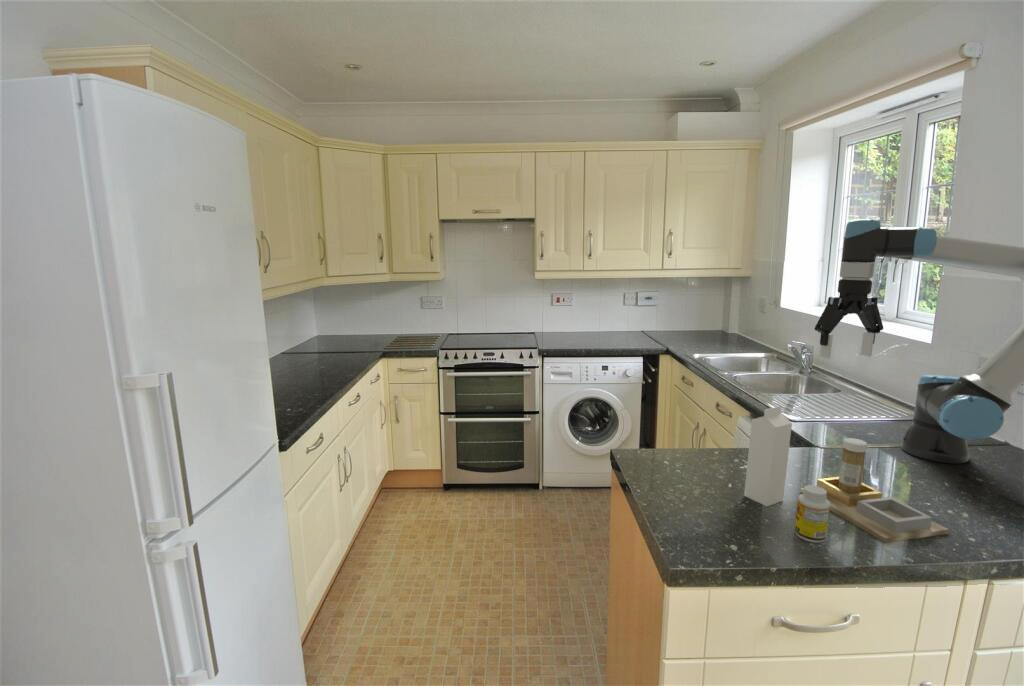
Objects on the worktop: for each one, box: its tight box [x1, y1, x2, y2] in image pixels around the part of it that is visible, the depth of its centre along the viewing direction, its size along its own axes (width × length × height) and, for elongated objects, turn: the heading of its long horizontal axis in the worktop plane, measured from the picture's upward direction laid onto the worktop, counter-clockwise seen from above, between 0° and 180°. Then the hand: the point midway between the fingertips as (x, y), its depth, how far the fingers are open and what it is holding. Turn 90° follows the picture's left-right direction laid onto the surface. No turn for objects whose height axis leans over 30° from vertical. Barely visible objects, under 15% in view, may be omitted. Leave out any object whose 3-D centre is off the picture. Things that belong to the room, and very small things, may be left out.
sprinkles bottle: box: [838, 437, 868, 494], centre depth 117 cm, size 5×5×14 cm
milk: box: [743, 405, 793, 507], centre depth 117 cm, size 6×6×22 cm
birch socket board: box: [799, 487, 950, 543], centre depth 113 cm, size 16×22×1 cm
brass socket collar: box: [816, 476, 884, 507], centre depth 118 cm, size 9×9×2 cm
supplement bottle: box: [794, 484, 831, 544], centre depth 102 cm, size 6×6×10 cm
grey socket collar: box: [856, 496, 933, 533], centre depth 108 cm, size 9×9×2 cm
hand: (845, 356), depth 140 cm, fingers open, 13 cm apart
